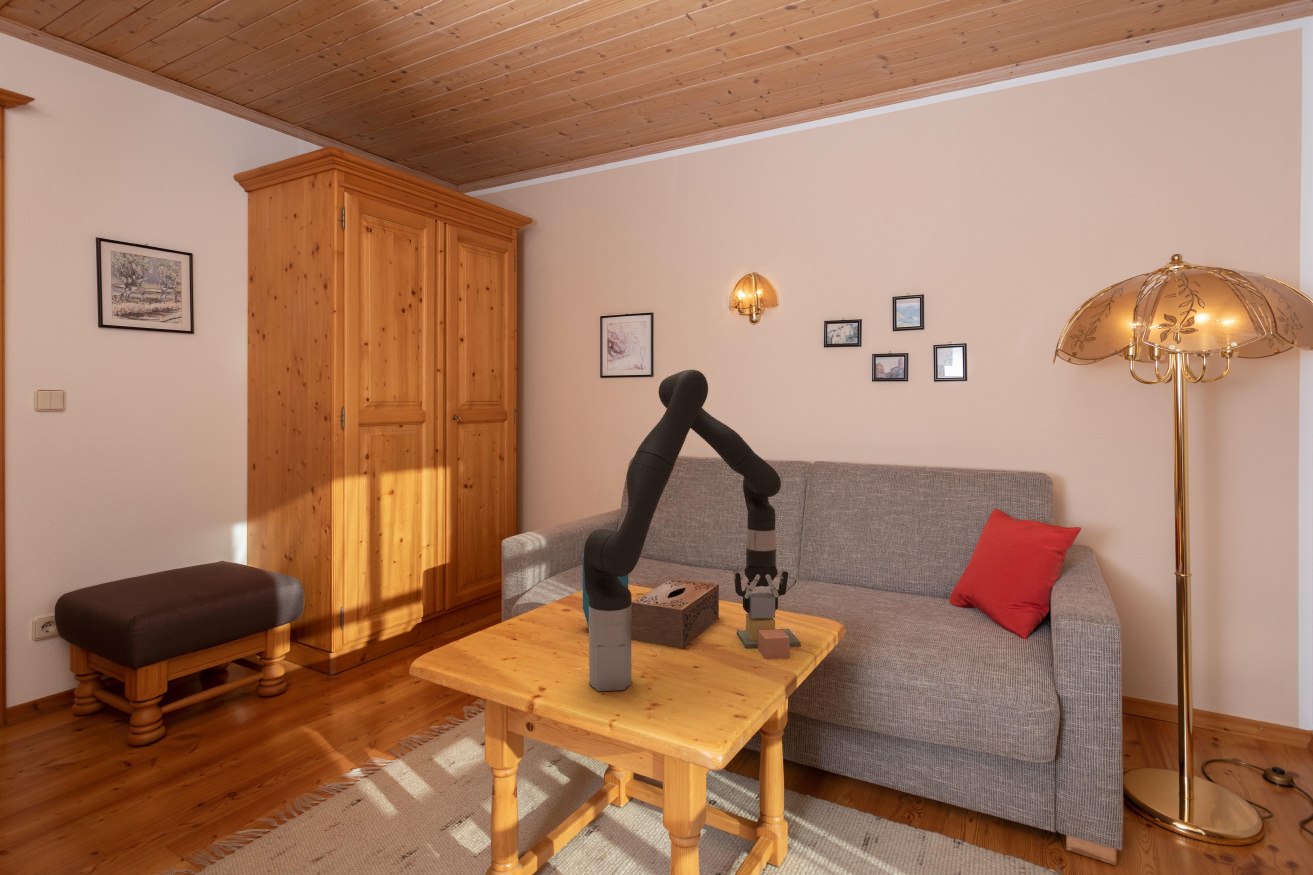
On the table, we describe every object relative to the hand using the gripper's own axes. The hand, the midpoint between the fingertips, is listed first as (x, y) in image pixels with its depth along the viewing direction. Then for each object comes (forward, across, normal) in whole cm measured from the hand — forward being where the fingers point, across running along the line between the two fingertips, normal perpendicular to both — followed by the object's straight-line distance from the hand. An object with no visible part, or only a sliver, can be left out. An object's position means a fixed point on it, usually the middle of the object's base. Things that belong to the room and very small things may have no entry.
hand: (760, 611), depth 174 cm
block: (+8, -39, +12) cm, 42 cm away
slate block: (+1, 0, 0) cm, 1 cm away
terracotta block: (+8, +1, -9) cm, 12 cm away
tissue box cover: (+8, -20, +11) cm, 24 cm away
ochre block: (+7, 0, 0) cm, 7 cm away
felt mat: (+8, +2, 0) cm, 8 cm away
